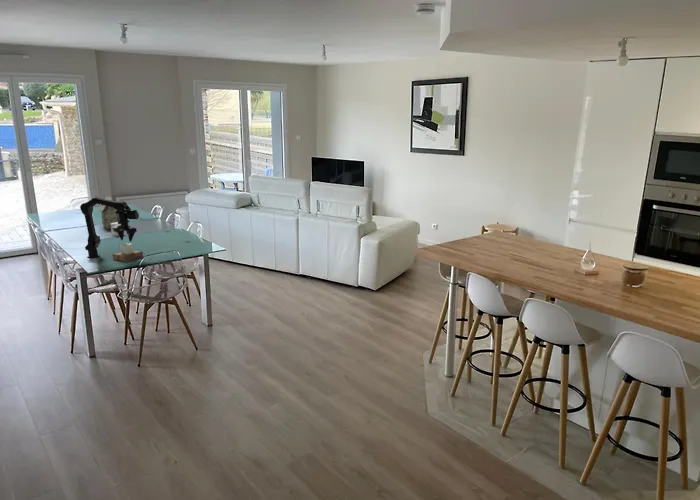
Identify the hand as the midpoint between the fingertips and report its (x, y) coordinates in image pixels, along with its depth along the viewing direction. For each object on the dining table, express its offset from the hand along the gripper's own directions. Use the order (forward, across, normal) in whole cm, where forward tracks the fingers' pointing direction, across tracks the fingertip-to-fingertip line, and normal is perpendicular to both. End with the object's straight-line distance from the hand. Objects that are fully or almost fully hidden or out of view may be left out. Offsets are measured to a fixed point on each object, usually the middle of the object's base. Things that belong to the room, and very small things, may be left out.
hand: (126, 240), depth 364 cm
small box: (+12, -69, +42) cm, 82 cm away
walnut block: (+12, +3, -2) cm, 12 cm away
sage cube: (+8, +3, -2) cm, 9 cm away
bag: (+12, -102, +60) cm, 119 cm away
